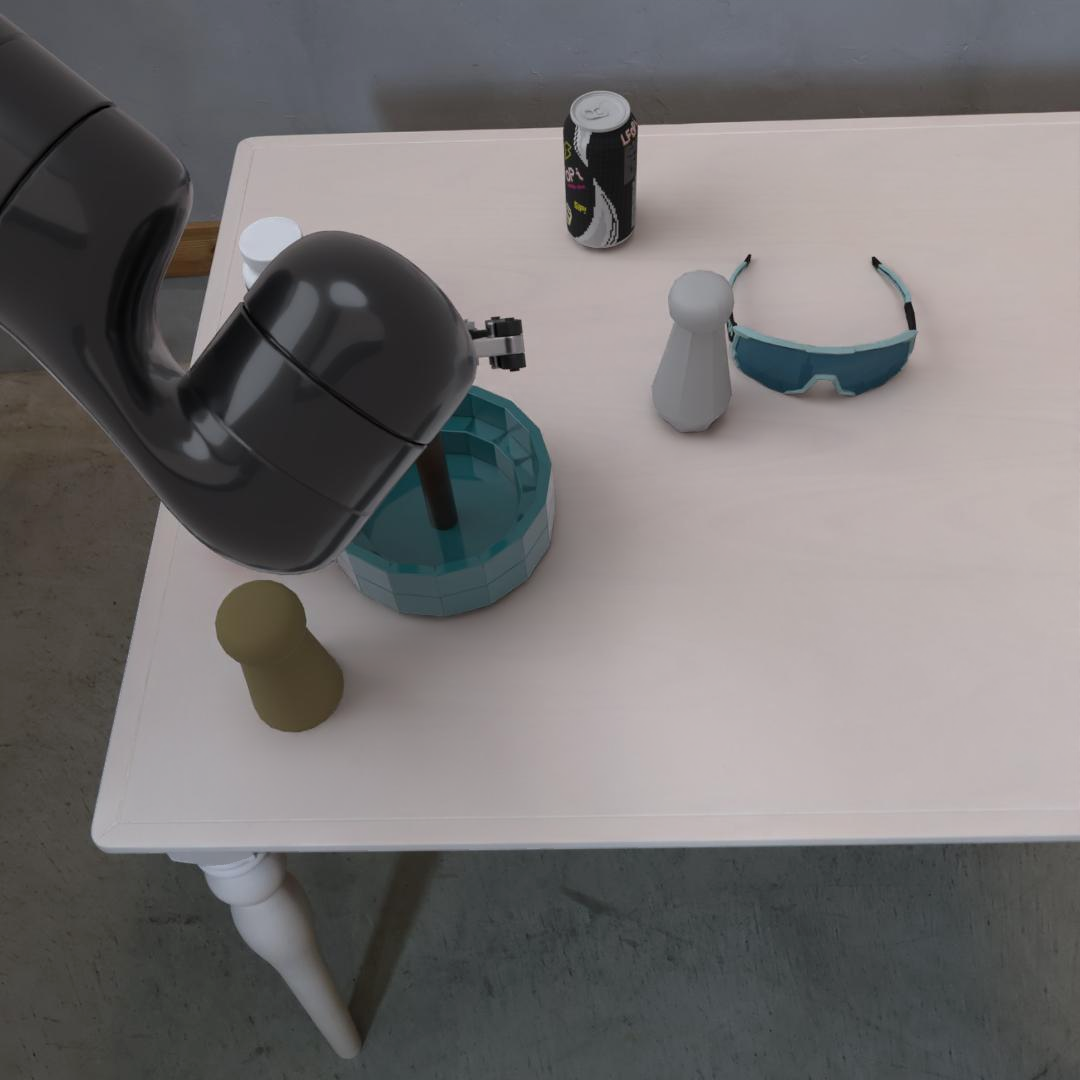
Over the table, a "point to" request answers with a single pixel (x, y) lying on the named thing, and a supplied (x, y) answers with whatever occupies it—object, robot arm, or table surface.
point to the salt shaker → (695, 353)
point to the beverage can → (600, 169)
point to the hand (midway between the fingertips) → (408, 346)
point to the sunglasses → (822, 353)
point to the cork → (279, 656)
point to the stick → (437, 485)
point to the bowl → (462, 518)
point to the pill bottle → (265, 244)
